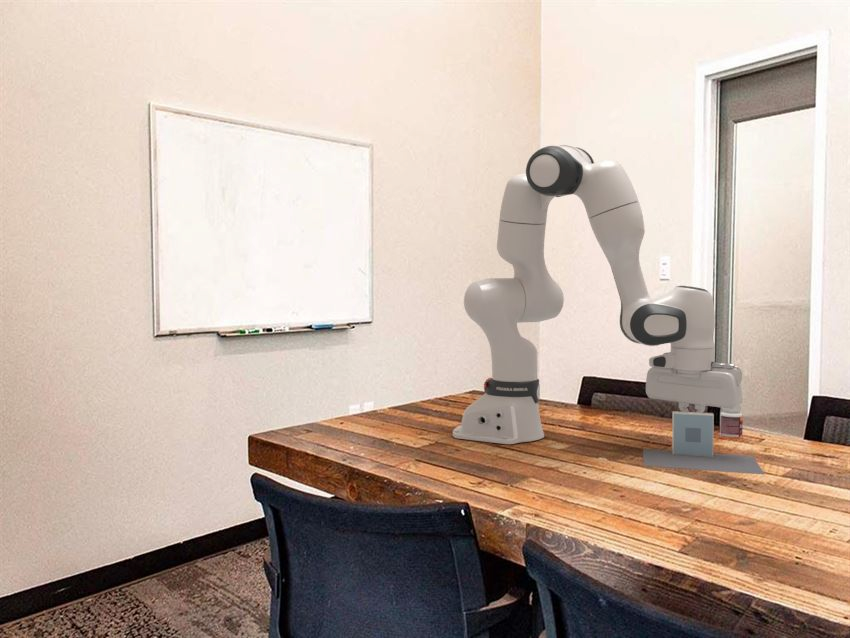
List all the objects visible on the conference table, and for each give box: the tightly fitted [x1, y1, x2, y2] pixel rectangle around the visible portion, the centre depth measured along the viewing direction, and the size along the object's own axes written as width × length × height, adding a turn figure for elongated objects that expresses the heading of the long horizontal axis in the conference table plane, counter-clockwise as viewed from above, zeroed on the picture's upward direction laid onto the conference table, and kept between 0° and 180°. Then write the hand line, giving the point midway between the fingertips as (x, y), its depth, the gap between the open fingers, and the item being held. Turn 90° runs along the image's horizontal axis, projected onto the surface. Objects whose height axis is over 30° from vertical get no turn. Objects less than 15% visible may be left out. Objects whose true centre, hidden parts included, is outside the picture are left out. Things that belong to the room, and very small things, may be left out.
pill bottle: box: [719, 404, 744, 441], centre depth 153 cm, size 5×5×8 cm
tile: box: [671, 410, 715, 457], centre depth 138 cm, size 8×2×9 cm, turn 72°
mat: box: [642, 448, 765, 476], centre depth 134 cm, size 22×14×1 cm, turn 72°
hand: (691, 423), depth 141 cm, fingers closed
